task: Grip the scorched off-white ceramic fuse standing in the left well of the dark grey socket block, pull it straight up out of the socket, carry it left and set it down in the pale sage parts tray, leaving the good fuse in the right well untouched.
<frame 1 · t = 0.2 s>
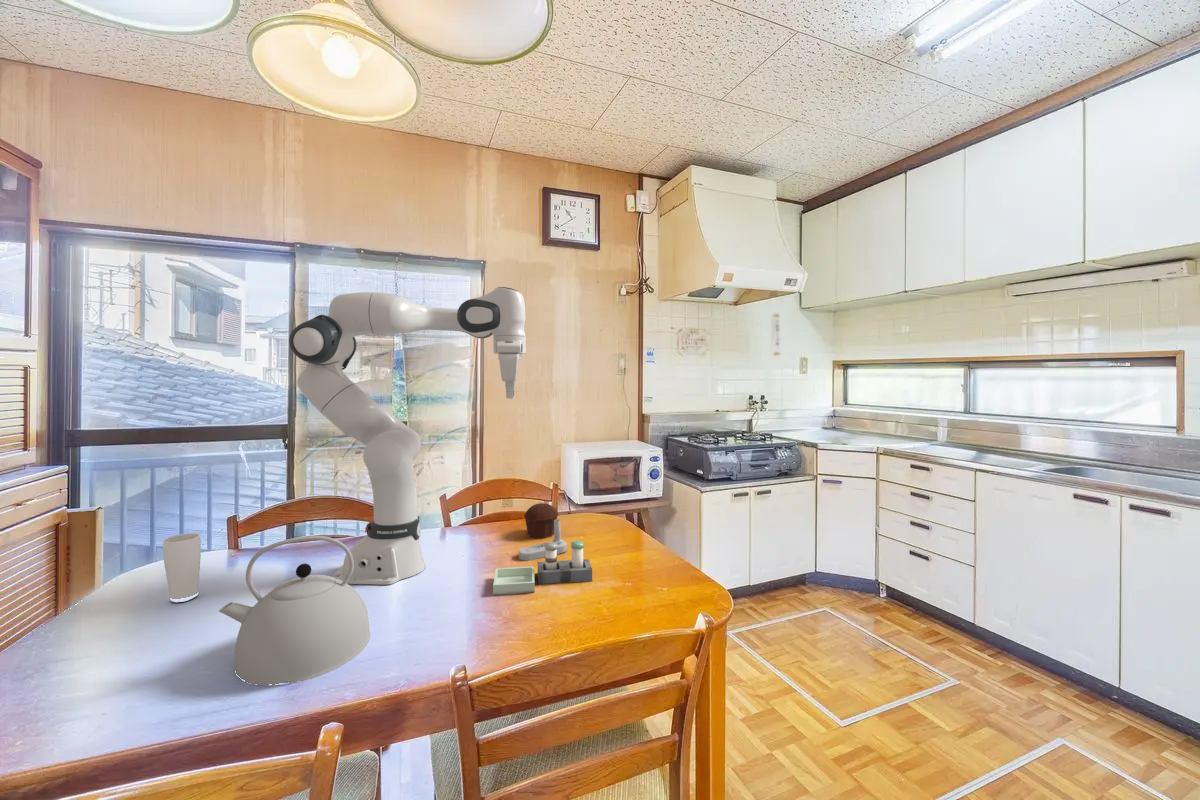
hand: (510, 397, 134), 47 cm above the table, tool pointing down, fingers open, 8 cm apart
blown fuse: (551, 577, 128), resting in socket block
kettle: (299, 651, 95), on the table
muffin: (541, 534, 162), on the table
parts tray: (514, 584, 124), on the table
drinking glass: (184, 599, 116), on the table
electronic device: (543, 555, 145), on the table
socket block: (564, 576, 128), on the table
good fuse: (577, 576, 129), resting in socket block
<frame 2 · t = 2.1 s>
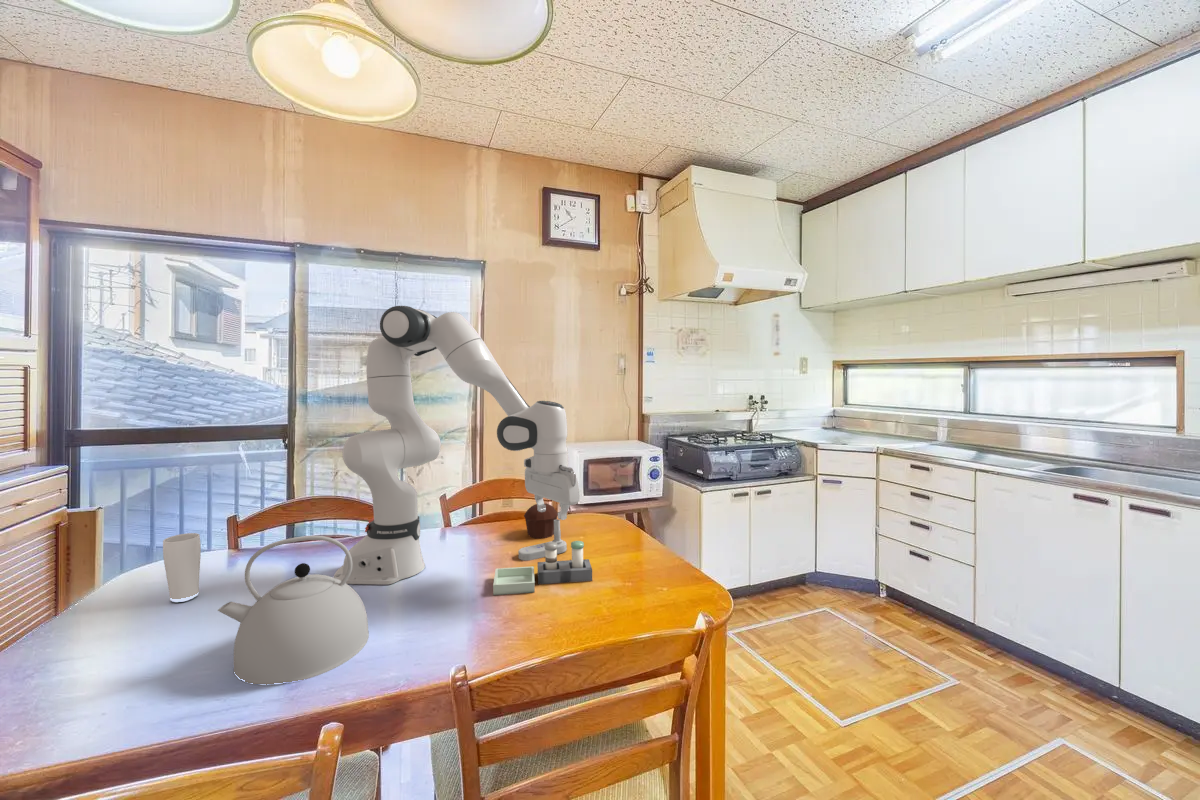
hand: (551, 515, 127), 17 cm above the table, tool pointing down, fingers open, 8 cm apart
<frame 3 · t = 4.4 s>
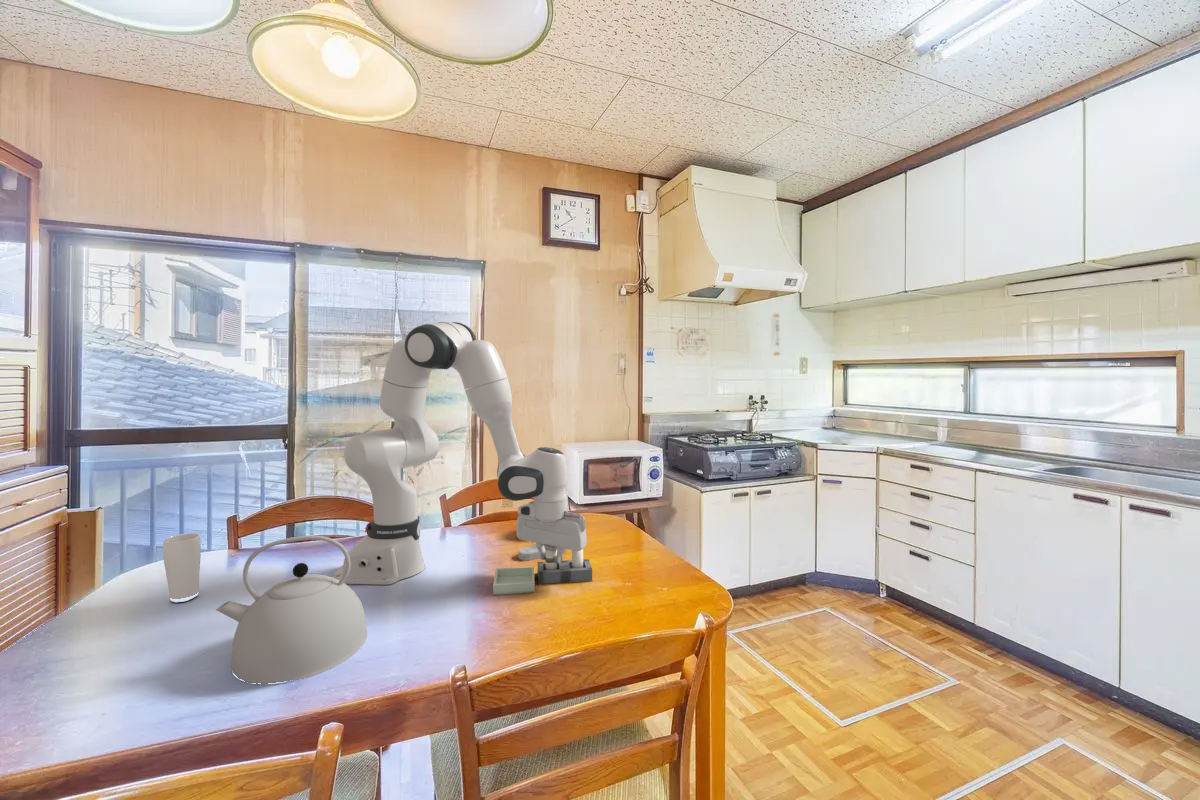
hand: (551, 560, 128), 5 cm above the table, tool pointing down, fingers closed on blown fuse, 3 cm apart
blown fuse: (551, 577, 128), resting in socket block, touching gripper
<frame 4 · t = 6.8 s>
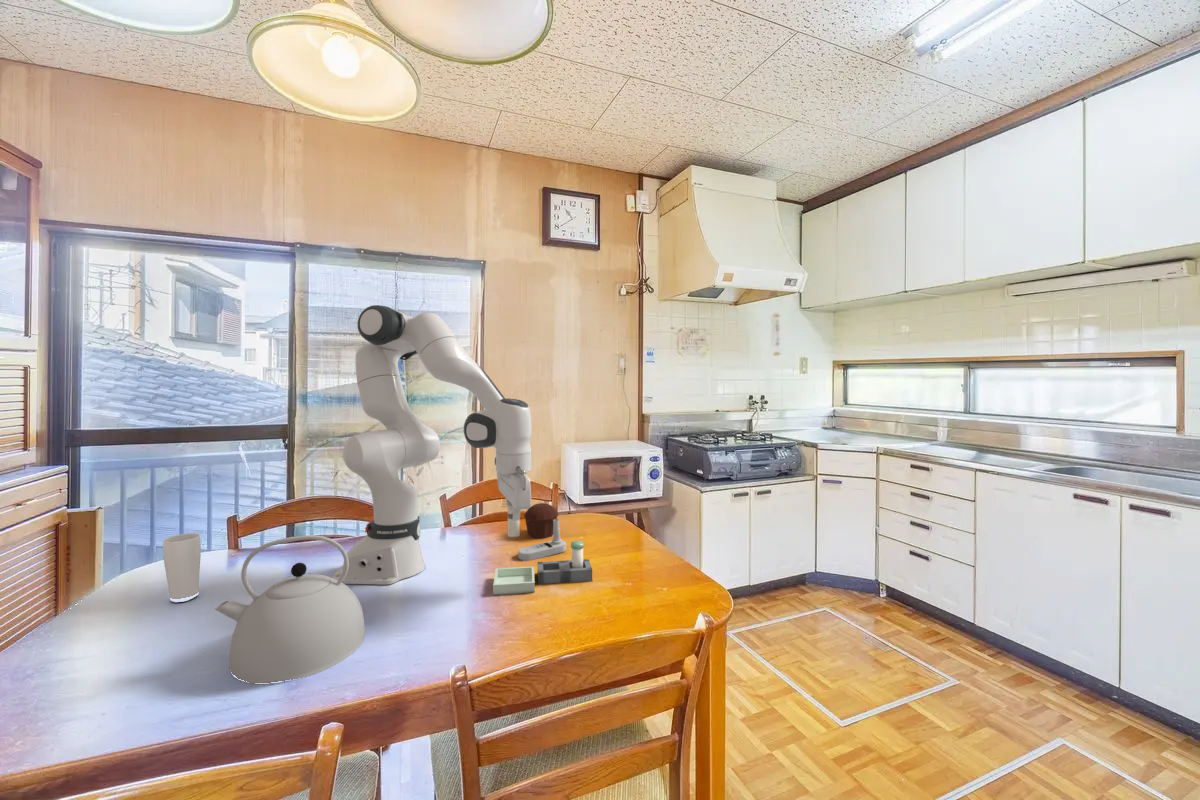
hand: (513, 517, 123), 18 cm above the table, tool pointing down, fingers closed on blown fuse, 3 cm apart
blown fuse: (513, 535, 123), point 13 cm above the table, touching gripper
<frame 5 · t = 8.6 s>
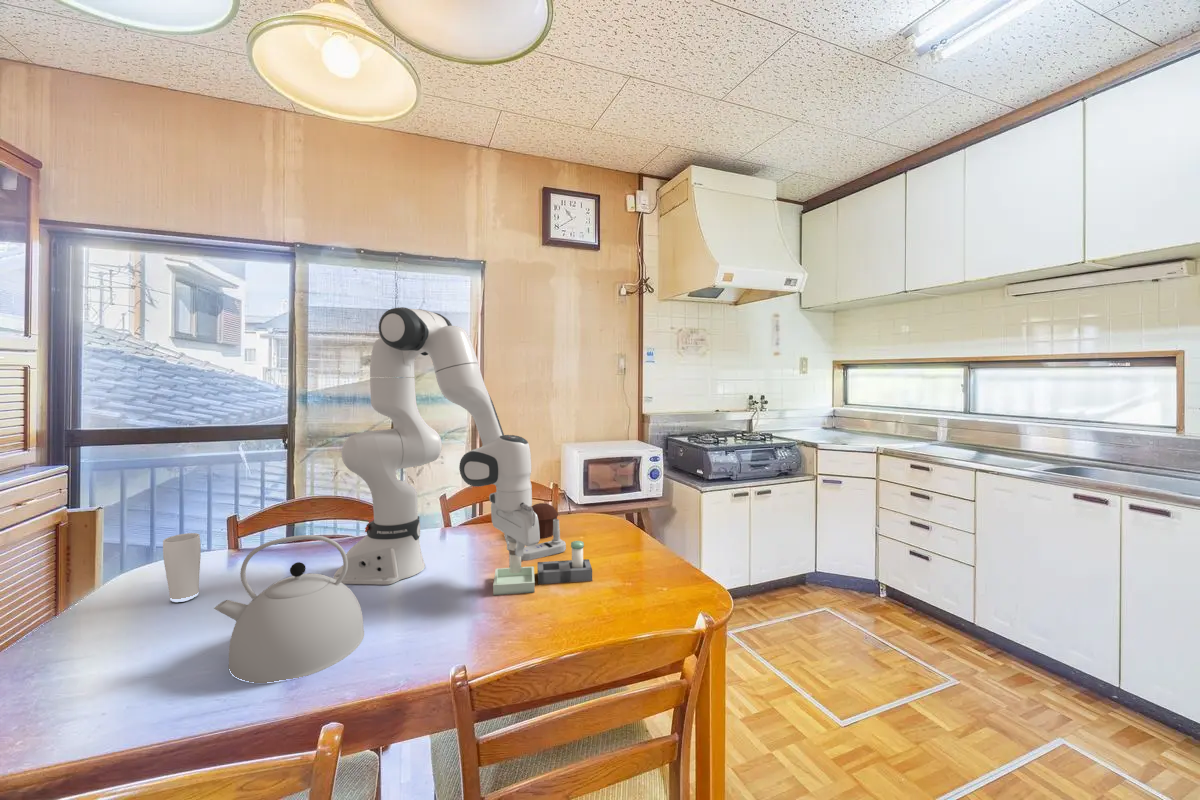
hand: (515, 553, 123), 8 cm above the table, tool pointing down, fingers closed on blown fuse, 3 cm apart
blown fuse: (515, 570, 123), point 4 cm above the table, touching gripper
when the fingers open (6 cm above the table, at t = 9.8 s): blown fuse stays where it is, resting on parts tray.
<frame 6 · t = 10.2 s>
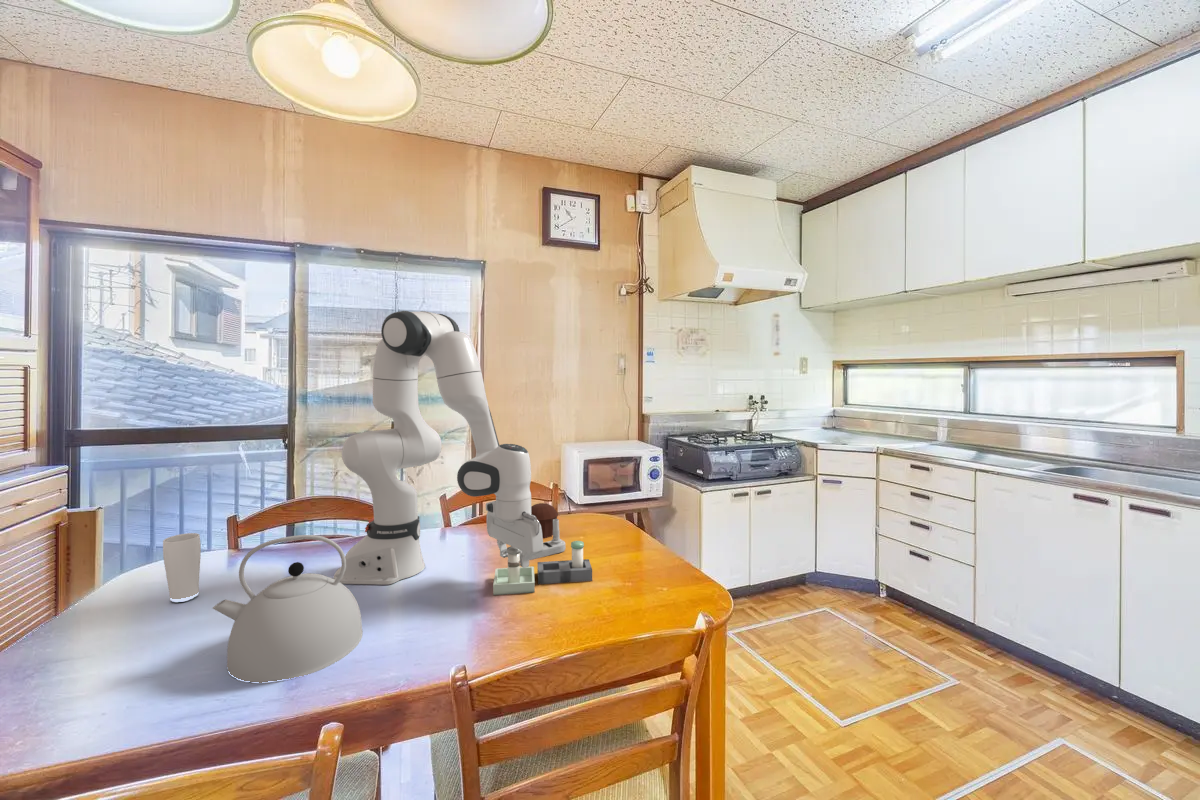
hand: (514, 561, 123), 6 cm above the table, tool pointing down, fingers open, 8 cm apart
blown fuse: (513, 582, 124), point 1 cm above the table, touching parts tray
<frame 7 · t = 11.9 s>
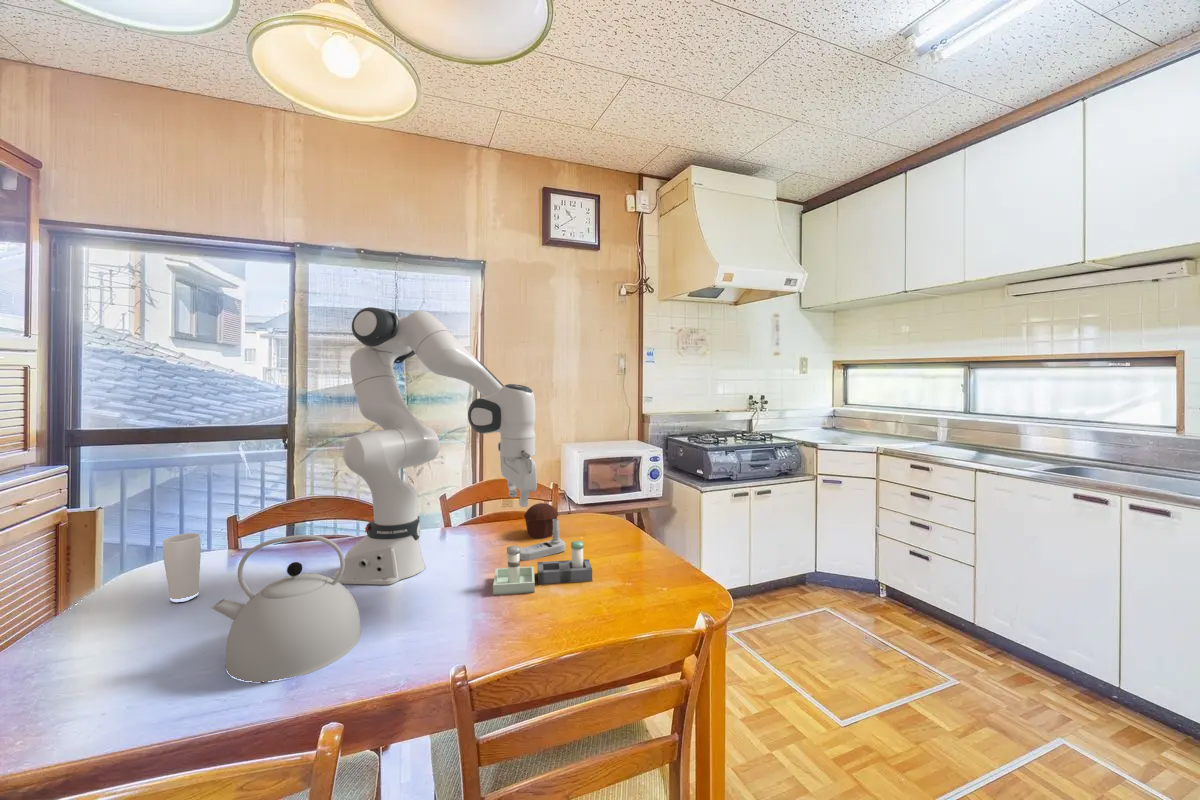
hand: (518, 501, 124), 21 cm above the table, tool pointing down, fingers open, 8 cm apart
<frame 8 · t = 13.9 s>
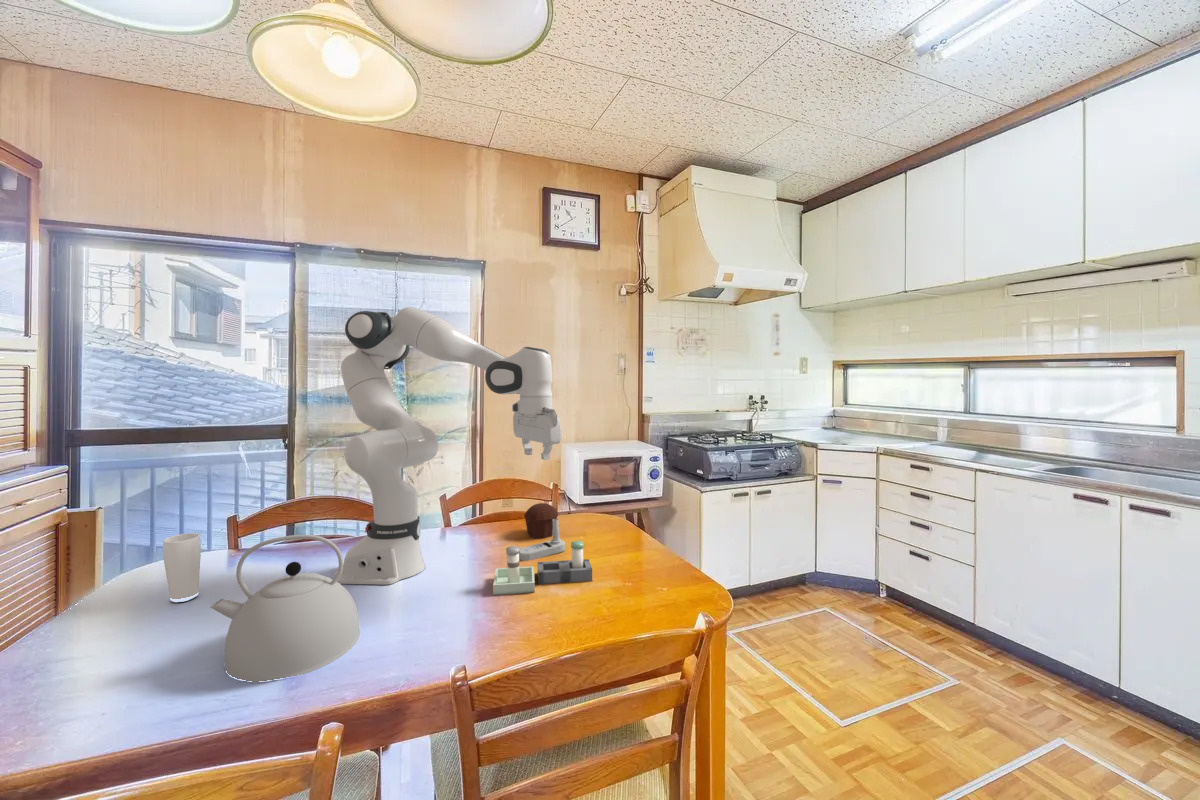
hand: (536, 457, 132), 31 cm above the table, tool pointing down, fingers open, 8 cm apart
at the end: blown fuse inside the target area on the parts tray (0.2 cm from its centre), point 0.5 cm above the parts tray's base; good fuse moved 0.0 cm from its start; the gripper is holding nothing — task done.
